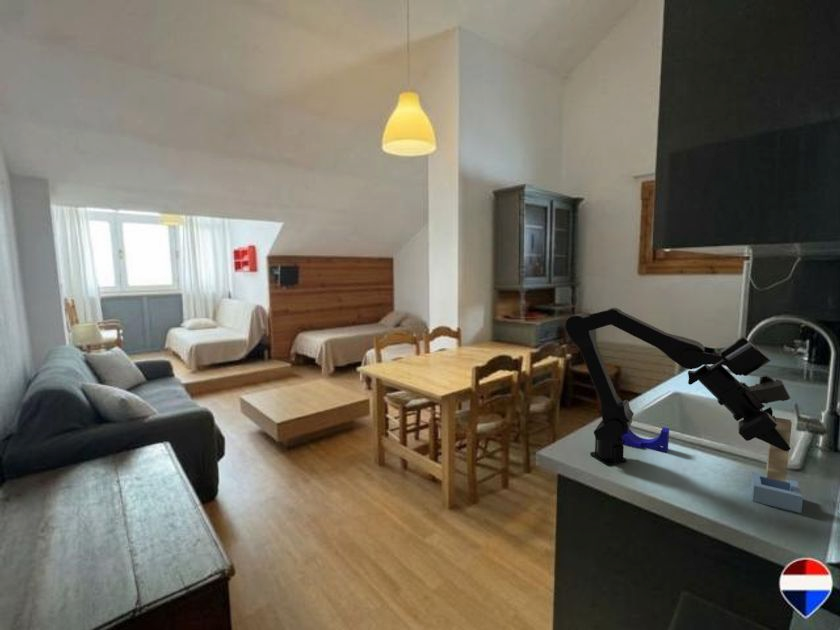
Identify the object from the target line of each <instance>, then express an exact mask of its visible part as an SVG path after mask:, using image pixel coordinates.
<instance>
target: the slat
mask: <svg viewBox="0 0 840 630" xmlns="http://www.w3.org/2000/svg"><path fill="white" fill-rule="evenodd" d="M775 419H776V423H777V426H776V427H775V428H776V429H777V431H778V432H779V433H780V434H781V436H782V437H783V438H784V440H785V441H786V442H787V444H788V445H789V447H790V444H791V434H792V425H793V423H792V422H793V421H792V419H788V418H781V417H777V416H775ZM789 453H790V450H788V451H784V450H782V449H779V448H777V447H775V446H773V445H771V444H769V443H768V449H767V458H766V471H765V475H766V476H767V478H769V479H774V480H778V481H783V482H786V479H787V476H788V475H787V474H788V463H789Z"/></svg>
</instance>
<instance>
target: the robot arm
mask: <svg viewBox="0 0 840 630" xmlns="http://www.w3.org/2000/svg"><path fill="white" fill-rule="evenodd" d="M607 326H612V327H613V326H614V327H615V328H616V329H619V330H621V331H623V332H625V333H627V334H629V335H631V336H633V337H634V338H637V339H639V340H641V341H643V342H645V343H646V344H648V345H651V346H652V347H654V348H657V349H658V350H659V351H661V352H662V353H663V354H664V355H665V356H667V357H668V358H669V359H670V360H672V361H673V362H675V363H676V364H677V365H679V366H680V367H682V368H684V369H686V370H688V371H687V375H688V381H687V382H688V383H687V384H688V385H690V386H691V385H692V384H694V383H696V382H697V381H698V382H699V383H700V384H701V385H702V386H703V387H704V388H706V390H708V391H709V393H710V394H712V395H713V396H714V398H716V399H717V403H718V404H719V405H720V406H724V407H725V408H726V410H728V411H729V412H730V413H731V414H732V417H733V418H734V420H735V421H736V422H738V425H737V430H738V431H737V432H738V434H739V435H740V436H741V437H742V438H743V439H744V440H745V441H746V442H747V441H751V440H753V439H757V440H761V441H763V442H765V443H767V444H768V445H769V444H771V445H773V446H775V447H777V448H779V449H782V450H784V451H788V450H789V451H791V447H790V446H789V445H788V444H787V442H786V441H785V440H784V438H783V437H782V436H781V434H780V433H779V432H778V431H777V429H776V428H775V427H776V426H777V423H776V419H775V417H776V416H775V415H773V409H772V407H771V406H770V407H767V408H765V407H766V405H768V404H769V403H774V402H779V401H782V402H784V401H788V400H790V399H791V397H790V395H789V392H788V390H787V389H786V386H785V385H784V383H783V381H782V380H781V379H774V378H772V377H771V376H770V375H768V374H767V375H762V376H760V377H759V383H755V384H754V385H751V386H749V385H748V384H747V383H746V382H742V381H739V379H737V378H736V377H735V376H744V377H747V376H749V375H750V374H752V373H754V372H755V371H757V370H759V369H761V368H762V367H764V366H765V365H767V364H769V363H770V362H772V359H771V358H770V357H769V356H768V355H767V354H766V353H765V352H764V351H763V350H762V349H761V348H760V347H759V346H758V345H754V343H752V342H751V341H750V340H748V338H746V337H745V336H741V337H739V338H738V339H737V340H736V341H735V342H733V343H732V344H731V345H729V346H727V347H726V348H724V349H718V348H715V347H709V346H705V345H704V344H702V343H701V342H700V341H697V340H695V339H691V338H688V337H685V336H681V335H680V336H679V335H676V334H672V333H669V332H665V331H664V330H661V329H660V328H657V327H656V326H654V325H651V324H649V323H647V322H645V321H643V320H641V319H639V318H637V317H635V316H632V315H631V314H629V313H626V312H625V311H622V310H621V309H619V308H617V307H611V308H608V309H606V310H603V311H599V312H594V313H591V314H587V313H583V312H582V313H581V312H580V313H577V314H574V315H572V316H571V317H569V318H568V319H567V320H566V322H565V324H564V329H565V331H566V334H567V335H568V337H569V338H570V340H571V342H572V343H573V344H574V345H575V346H576V347H577V349H578V350H579V351H580V354H581V356H582V359H583V362H584V363H585V366H586V369H587V371H588V374H589V377H590V378H591V382H592V383H593V386H594V388H595V391H596V394H597V396H598V398H599V401H600V410H601V411H600V412H601V413H600V414H601V415H600V416H601V420H600V422H599V423H598V425H597V427H595V429H594V431H593V435H594V438H595V440H594V442H595V443H594V451H592V452H589V455H590V456H592V457H593V458H595V459H596V460H597V461H600V462H602V463H603V464H605V465H606V466H611V465H615V464H620V463H621V464H622V463H625V462H627V461H628V459H627V458H626V457H624V448H625V447H624V446H625V445H623V439H622V438H621V436H623V435H625V434H626V433H627V431H628V429H629V428H630V427H631V425H632V422H633V419H634V418H633V417H634V415H635V413H634V412H633V411H632V409H631V407H630V403H629V399H625V400H622V398H620V397H619V395H618V394H617V392H616V388H615V387H614V384H613V381H612V379H611V376H610V373H609V372H608V369H607V367H606V364H605V362H604V358H603V357H602V353H601V352H600V350H599V349H600V348H599V347H598V343H597V331H596V330H597V329H600V328H601V329H602V328H604V327H607ZM726 367H727V368H726ZM695 369H696V370H695ZM727 369H728V370H727ZM729 371H731V373H730V372H729ZM732 373H733V374H734V375H735V376H734V375H733V374H732ZM764 408H765V409H764Z"/></svg>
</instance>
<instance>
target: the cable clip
mask: <svg viewBox="0 0 840 630" xmlns="http://www.w3.org/2000/svg"><path fill="white" fill-rule="evenodd" d="M621 438H622V439H623V446H627V447H631V446H632V448H635V447H636V449H641V448H644V449H649V450H653V451H657V452H662V453H665V454H666V453H667V452H668V451H669V441H670V428H668V427H662V428H661V431H660V434H659V435H658V436H656V437H654V438H644V437H640V436H638V435H637V434H635V432H633V431H632V430H631V429H630V427H629V429H628V431H627V433H626V434H625V435H623V436H621Z"/></svg>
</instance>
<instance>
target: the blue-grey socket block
mask: <svg viewBox="0 0 840 630" xmlns="http://www.w3.org/2000/svg"><path fill="white" fill-rule="evenodd" d="M750 473H751V476H750V486H749V487H750V492H751V498H752V500H751V501H752V502H755V503H759V504H763V505H767V506H771V507H775V508H779V509H783V510H787V511H790V512H793V513H799V514H802V510H803V509H802V508H803V501H804V496H803V493H802V491H801V488H800V485H799V483H798V481H795V480H791V479H787V478H786V482H783V481H778V480H774V479H769V478H767V476H766V474H763V473H760V472H754V471H751V472H750Z"/></svg>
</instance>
